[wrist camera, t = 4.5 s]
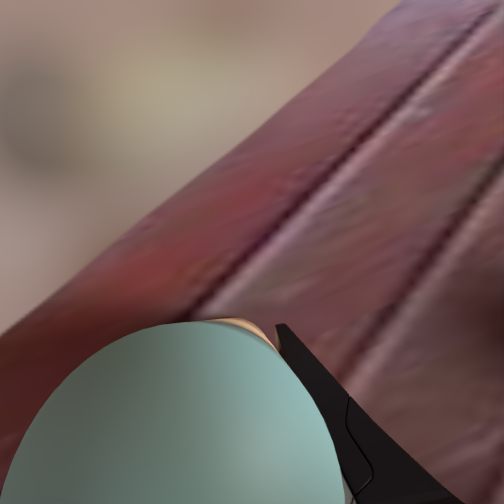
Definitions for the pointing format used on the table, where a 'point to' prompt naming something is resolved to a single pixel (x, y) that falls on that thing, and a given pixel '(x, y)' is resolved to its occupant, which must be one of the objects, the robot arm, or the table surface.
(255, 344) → the teal capped wooden cylinder
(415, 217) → the table surface
